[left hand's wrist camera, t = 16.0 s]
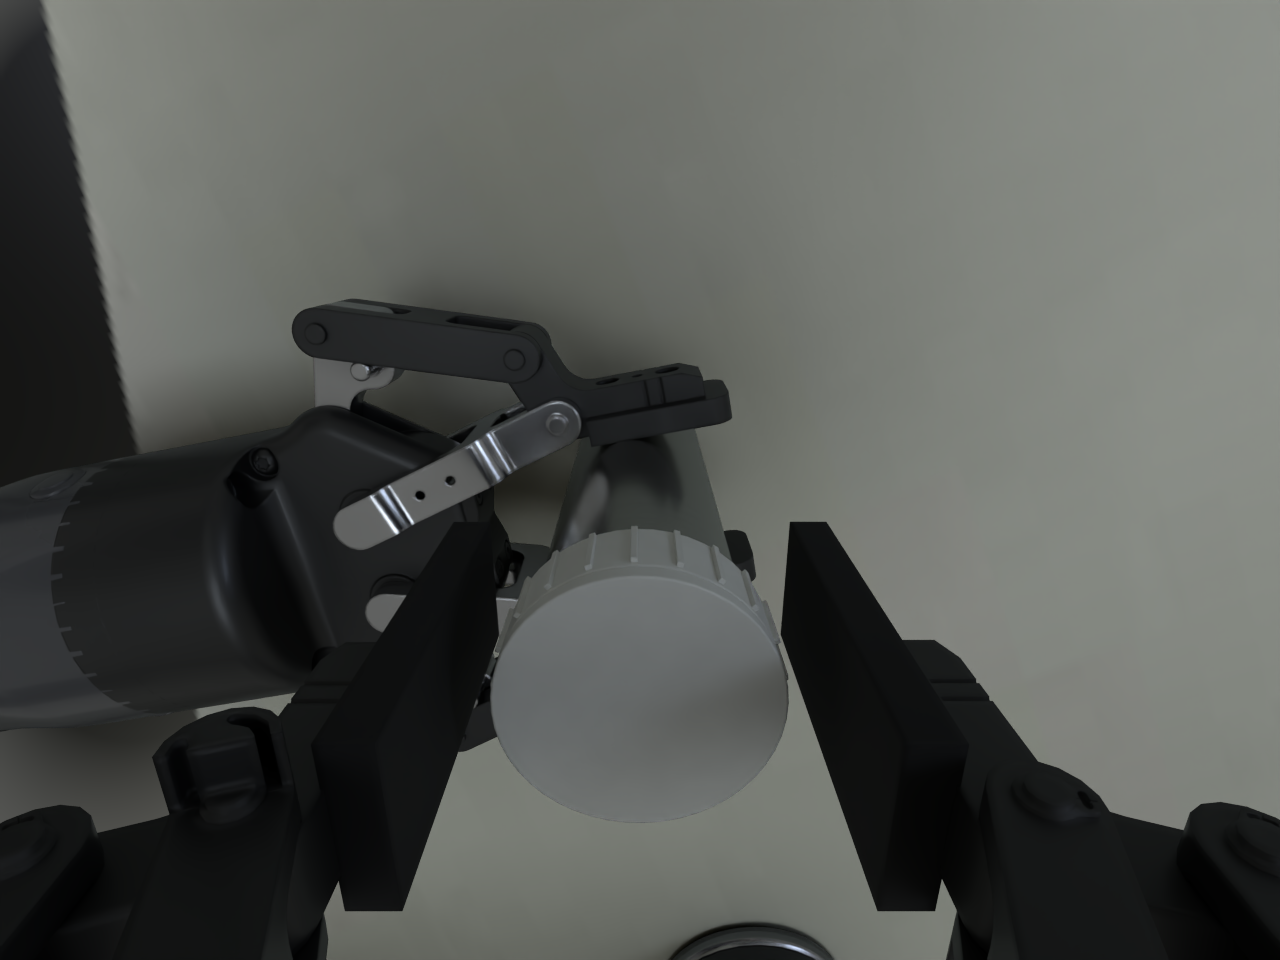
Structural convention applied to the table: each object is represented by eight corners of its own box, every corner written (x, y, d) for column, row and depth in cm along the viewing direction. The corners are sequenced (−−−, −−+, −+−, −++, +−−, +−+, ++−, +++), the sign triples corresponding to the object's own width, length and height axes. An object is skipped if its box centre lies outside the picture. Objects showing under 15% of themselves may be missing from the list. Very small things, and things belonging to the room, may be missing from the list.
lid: (825, 597, 12) (855, 655, 10) (690, 788, 13) (697, 865, 12) (579, 475, 11) (568, 518, 9) (463, 693, 13) (437, 761, 11)
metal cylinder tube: (674, 496, 26) (716, 800, 12) (572, 468, 26) (493, 749, 12) (708, 397, 25) (796, 610, 11) (601, 366, 24) (550, 545, 10)
